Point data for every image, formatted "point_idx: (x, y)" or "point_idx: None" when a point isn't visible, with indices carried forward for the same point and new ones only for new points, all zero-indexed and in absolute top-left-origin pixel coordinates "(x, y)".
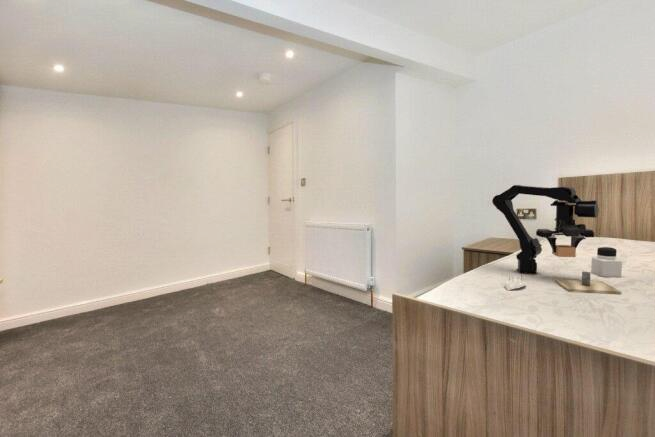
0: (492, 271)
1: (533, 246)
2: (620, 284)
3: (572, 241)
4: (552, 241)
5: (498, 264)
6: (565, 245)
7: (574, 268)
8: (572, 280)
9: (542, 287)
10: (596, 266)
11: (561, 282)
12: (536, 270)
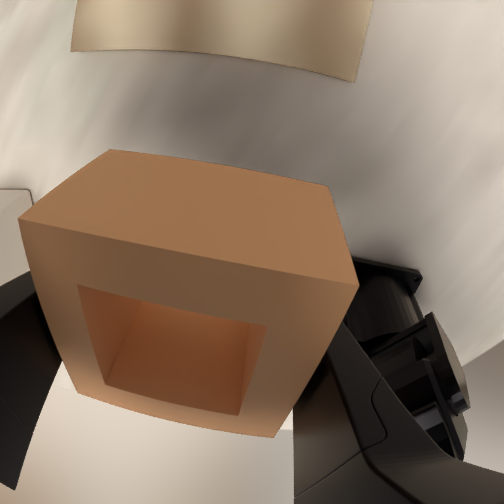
0: (499, 307)
1: (446, 419)
2: (14, 62)
3: (17, 405)
4: (426, 454)
5: None
6: (121, 389)
7: None
8: (240, 49)
9: (482, 8)
10: (15, 253)
11: (354, 11)
12: None
